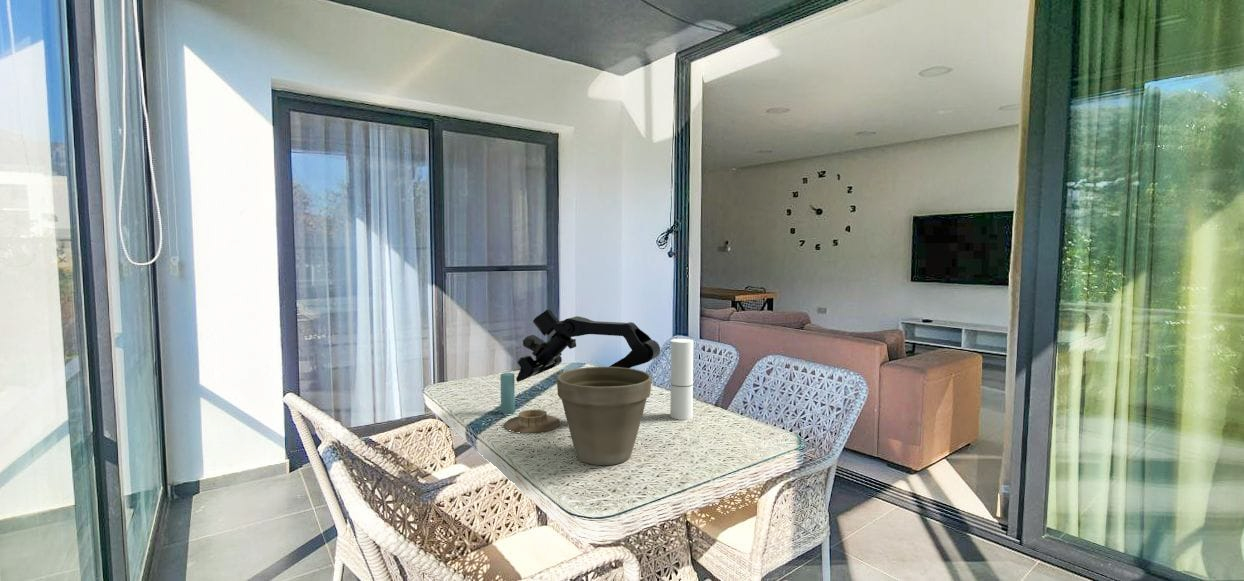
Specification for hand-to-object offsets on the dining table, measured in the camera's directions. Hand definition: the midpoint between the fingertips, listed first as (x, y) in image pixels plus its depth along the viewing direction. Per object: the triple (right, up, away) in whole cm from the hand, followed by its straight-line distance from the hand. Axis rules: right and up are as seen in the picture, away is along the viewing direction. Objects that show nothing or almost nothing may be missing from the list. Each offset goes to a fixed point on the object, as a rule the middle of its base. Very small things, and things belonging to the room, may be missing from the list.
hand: (525, 377), depth 184 cm
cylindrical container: (+51, -13, 0) cm, 52 cm away
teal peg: (-6, -12, +4) cm, 14 cm away
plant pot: (+27, -16, -33) cm, 45 cm away
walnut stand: (+4, -13, -8) cm, 16 cm away
